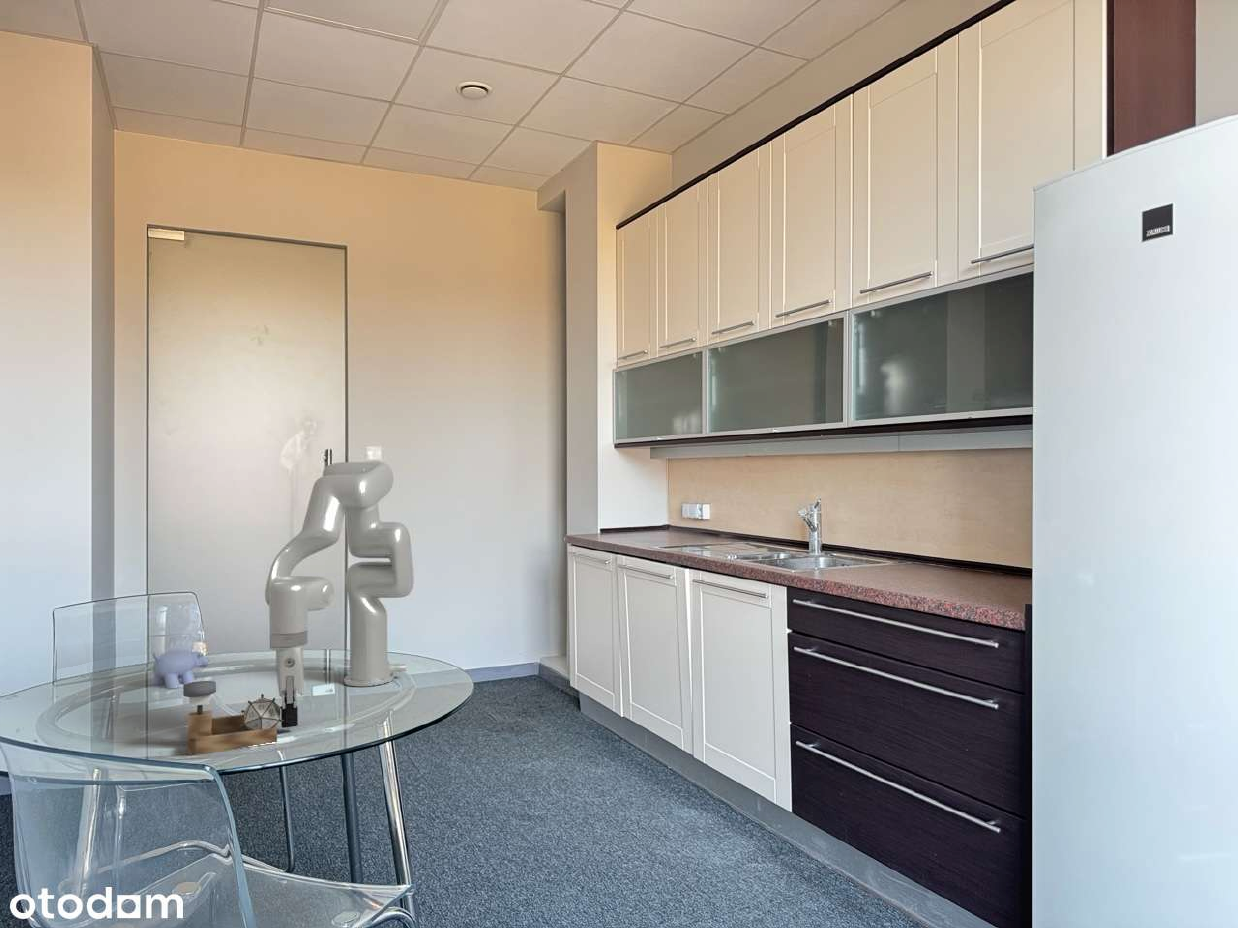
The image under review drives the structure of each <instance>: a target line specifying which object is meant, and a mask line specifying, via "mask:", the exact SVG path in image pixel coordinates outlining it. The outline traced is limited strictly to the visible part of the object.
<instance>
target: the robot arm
mask: <svg viewBox="0 0 1238 928" xmlns="http://www.w3.org/2000/svg"><path fill="white" fill-rule="evenodd" d="M393 484H394V473H393V471H392V468H391V467H390V466H389V464H387V463H385V462H381V461H364V462H363V461H348V462H347V461H346V462H345V461H343V462H335V463H334V462H333V463H330V464H328V465H327V466H325V467H324V468H323V471H322V476H320V477H319V478H317V479H316V481H315V482H314V484H313V486H312V490H311V493H310V498H309V501H308V505H307V508H306V512H305V516H304V519H303V523H302V528H301V531H300V532H299V533H298V534H296V535H295V536H294V537H293V538H292V539H290V541H289V542H288V543H287V544H285V545H284V547H282V549H281V550H280V551H278V553H277V555H276V556H275V558H274V559H273V561H272V563H271V566H270V569H269V572H268V576H267V579H266V585H265V589H264V596H265V597H264V598H265V601H266V604H267V606H268V608H269V613H268V614H269V649H270V650H272V651H275V666H276V668H275V669H276V671H275V672H276V683H277V689H278V694H279V696H280V698H281V699H282V700H281V701H282V705H281V706H282V707H281V706H280V707H281V709H280V720H281V719H283V722H280V724H281V726H280V727H281V728H283V729H284V728H286V729H287V728H292V727H297V726H298V723H299V721H298V719H299V717H298V716H299V714H298V708H299V707H298V705H297V694H298V695H299V694H300V696H303V695H304V693H305V688H304V686H305V683H304V682H305V681H304V678H305V677H304V651H303V648H306V647H308V645H309V644H308V612H313V611H316V612H318V611H321V610H323V609H326V608H327V607H328V606H329V605H330V604H331V602H332V600H333V598H334V594H335V593H334V586H333V584H332V582H331V581H330V580H329V579H328V578H326V577H322V576H303V575H302V576H297V575H296V576H293V575H291V574H292V572H293V570H294V569H295V567H296V566H297V565H298V564H299V563H301V562H303V560H305V559H307V558H308V557H310V556H312V555H314V554H317V553H319V552H321V551H323V550H327V549H328V548H330V547H332V546H333V545H335V544H336V543H338V541H339V539H340V535H341V531H342V527H343V524H344V523H343V522H344V519H345V529H346V537H347V546H348V550H349V553H350V554H351V556H352V557H354V558H358V559H359V558H360V559H388V561H359V562H356V563H354V564H352V565H350V566H349V568H348V569H347V571H346V572H345V576H344V577H345V578H344V581H345V587H346V592H347V598H348V606H349V649H350V650H349V662H350V663H349V665H350V667H349V668H350V672H349V673H350V674H349V675H346V676H345V677H344V679H343V682H344V684H345V685H347V686H350V687H374V686H380V685H384V683H385V684H387V682H388V683H391V682H392V681H393V680H394V678H395V677H394V673H396V672H399V673H400V672H406V671H407V670H406V669H407V666H406V663H390V662H389V660H388V613H387V610H386V608H385V605H384V604H383V603H382V602H381V600H380V599H388V598H389V599H392V598H393V599H395V598H397V599H399V598H406V597H407V596H409V595H410V594H411V593H412V591H413V589H414V581H415V580H414V568H413V567H414V565H413V564H414V563H413V554H412V543H411V542H412V541H411V535H410V533H409V529H408V528H407V526H406V525H405V524H403V523H401V522H398V521H382V520H381V518H380V512H379V504H378V503H379V502H380V501H381V500H382V499H384V498H385V497H386V496H387V494H389V492H391V490H392V487H393ZM379 684H380V685H379ZM373 685H374V686H373Z"/></svg>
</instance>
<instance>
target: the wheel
mask: <svg viewBox="0 0 1238 928" xmlns="http://www.w3.org/2000/svg"><path fill="white" fill-rule="evenodd" d="M196 681H197V680H196ZM182 690H183V691H182V693H183V697H186V698H188V699H189V707H194V706H197V705H203V706H204V705H209V704H210V701H211V695H213V694H215V693H217V682H216V681H214V680H199V681H197V682H192V683H188V684H185V685H184V686H183V687H182Z"/></svg>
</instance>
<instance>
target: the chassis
mask: <svg viewBox="0 0 1238 928" xmlns="http://www.w3.org/2000/svg"><path fill="white" fill-rule="evenodd" d="M203 708H204V705H196V709H197V710H196V711H194V712H193V711H192V712H189V715H188V718H187V720H188V721H187V723H188V725H187V727H188V728H187V729H188V730H187V733H188V734H187V735H188V736H187V739H188V741H187V742H188V743H187V745H188V756H194V755H203V754H208V753H210V752H211V753H218V752H224V751H225V752H226V751H232V749H234V750H238V749H237V748H241V749H243V748H242V747H248V746H253V745H260V744H266V743H272V742H277V743H278V732H277V731H278V728H277V726H275V728H268V729H260V730H252V731H250V730H249V729H248V728H246V727H245V726H244V725H243V726H242V727H240V724H243V720H244V713H242V714H238V715H227V716H220V717H219V716H218V717H212V710H204V709H203ZM245 730H246V731H245ZM229 732H230V733H229Z"/></svg>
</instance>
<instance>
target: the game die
mask: <svg viewBox="0 0 1238 928" xmlns="http://www.w3.org/2000/svg"><path fill="white" fill-rule="evenodd" d="M264 696H265V695H264V693H261V695H260V698H258V699H256V700H254V701H251V700H247V703H248V705H247V707H246V709H245V710H243V709H241V710H240V712H241V713H242V714H244V720H243V724H240V727H242V726H243V725H244V726H245V727H246V728H248V729H247V730H248V731H252V730H260V729H268V728H276V727H277V725H278V723H281V722H283V719H281V707H282V705H281V706H279V705H278V704H277V703H276V702H275V700H276V697H273V698H272V699H269V698H266V697H264Z"/></svg>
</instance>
